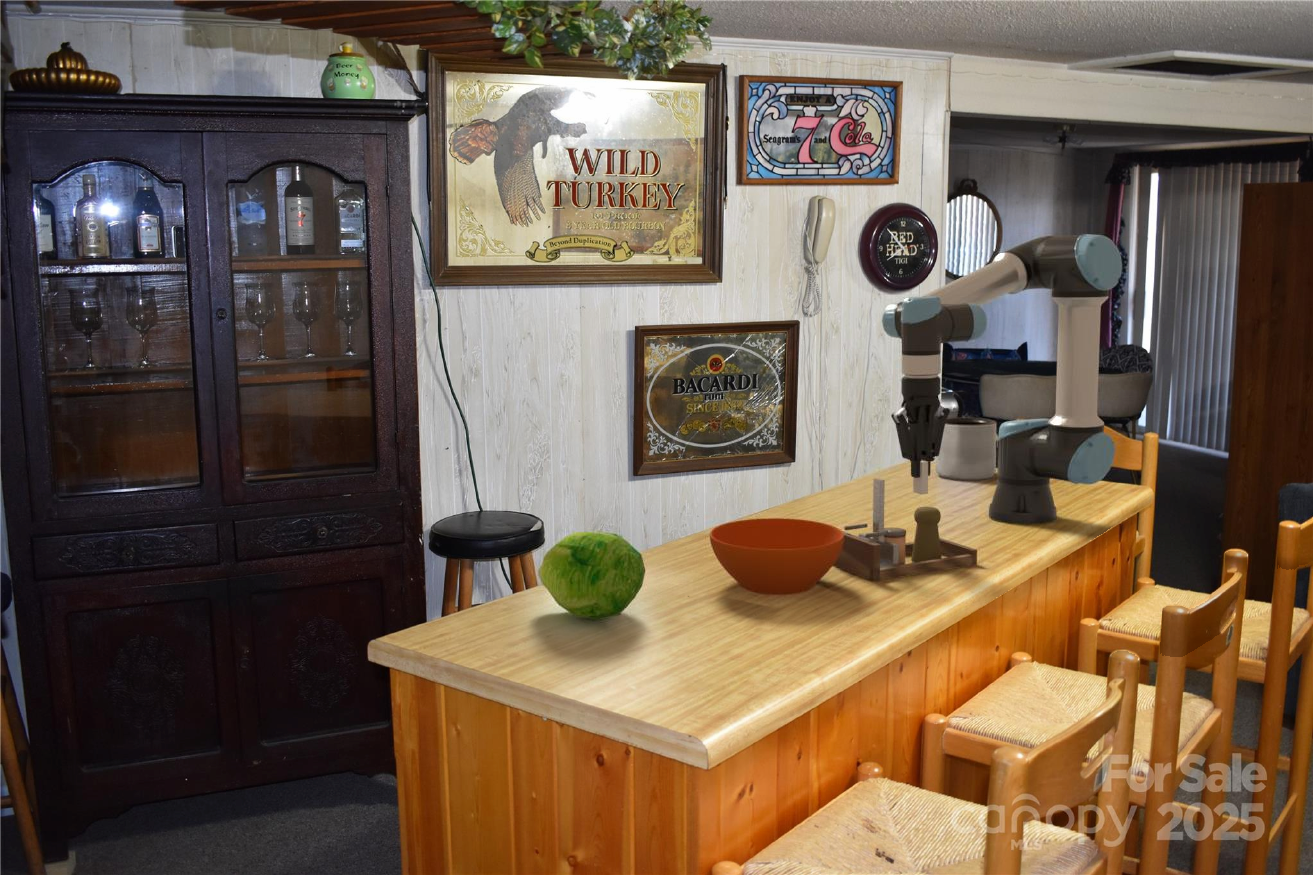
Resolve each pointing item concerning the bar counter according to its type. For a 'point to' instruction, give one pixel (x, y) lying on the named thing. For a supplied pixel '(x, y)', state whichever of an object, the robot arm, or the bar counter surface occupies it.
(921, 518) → the pepper mill
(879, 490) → the pusher
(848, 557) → the lane
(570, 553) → the lettuce
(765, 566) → the bowl
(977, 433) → the planter
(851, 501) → the bar counter surface
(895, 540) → the terracotta spice jar
